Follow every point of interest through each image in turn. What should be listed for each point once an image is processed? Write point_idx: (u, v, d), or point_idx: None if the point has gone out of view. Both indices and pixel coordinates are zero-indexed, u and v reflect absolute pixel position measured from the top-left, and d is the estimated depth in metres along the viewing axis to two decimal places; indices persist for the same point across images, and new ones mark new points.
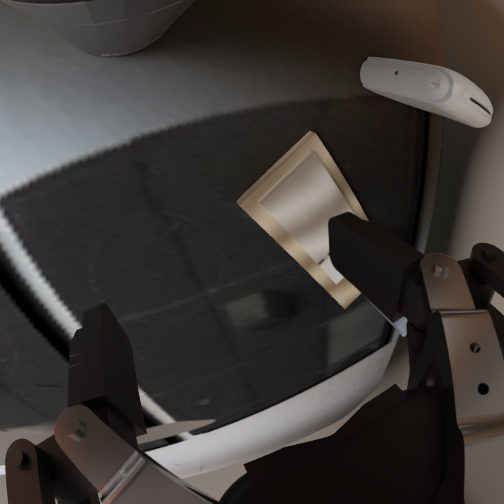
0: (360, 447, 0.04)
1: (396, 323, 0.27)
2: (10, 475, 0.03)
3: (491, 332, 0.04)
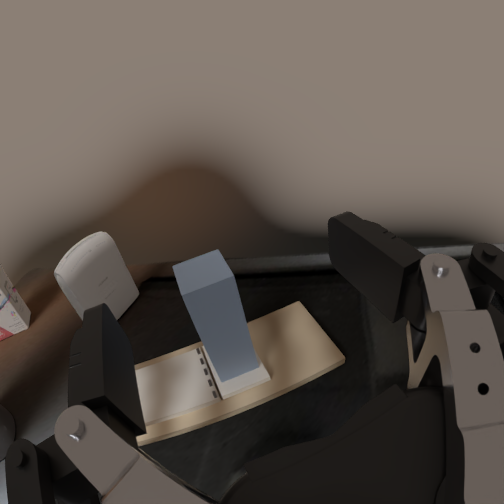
0: (360, 447, 0.04)
1: (182, 297, 0.21)
2: (10, 475, 0.03)
3: (491, 332, 0.04)
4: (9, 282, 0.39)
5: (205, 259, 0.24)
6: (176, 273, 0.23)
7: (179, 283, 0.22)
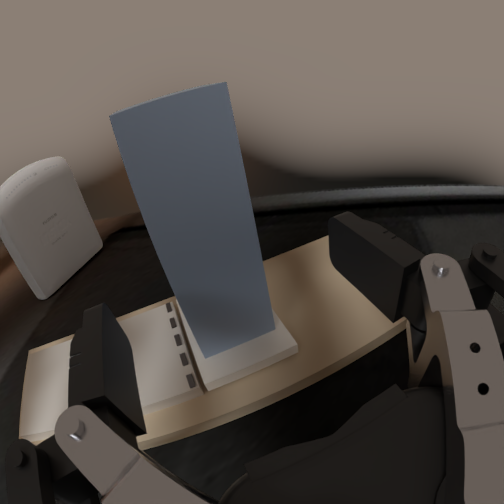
0: (360, 447, 0.04)
1: None
2: (10, 475, 0.03)
3: (491, 332, 0.04)
4: None
5: None
6: (117, 111, 0.10)
7: (115, 112, 0.09)
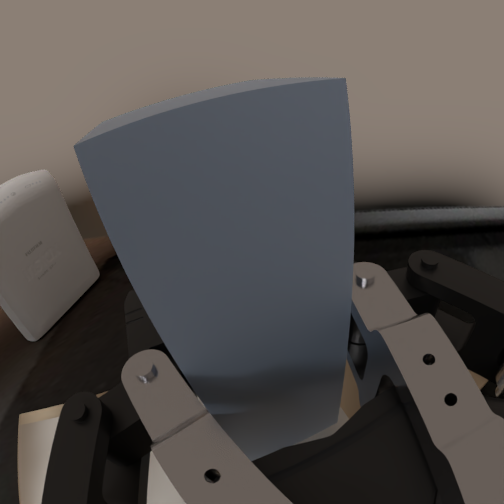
0: (360, 447, 0.04)
1: None
2: (62, 425, 0.05)
3: (441, 337, 0.05)
4: None
5: (211, 89, 0.06)
6: (103, 123, 0.05)
7: (96, 129, 0.04)
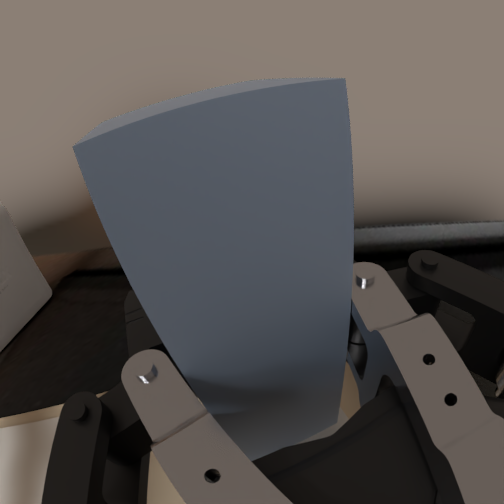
0: (360, 447, 0.04)
1: None
2: (62, 425, 0.05)
3: (441, 337, 0.05)
4: None
5: (210, 89, 0.06)
6: (102, 124, 0.05)
7: (95, 130, 0.04)
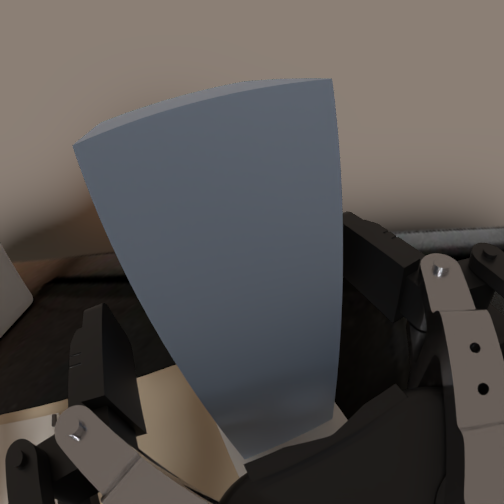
0: (360, 447, 0.04)
1: None
2: (10, 475, 0.03)
3: (491, 332, 0.04)
4: None
5: (205, 90, 0.06)
6: (101, 124, 0.06)
7: (93, 130, 0.04)
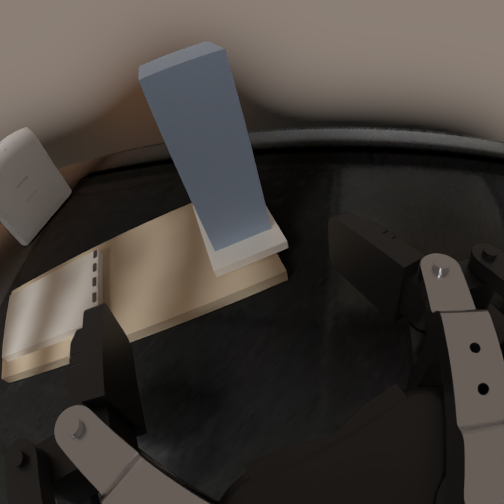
0: (360, 447, 0.04)
1: (140, 84, 0.11)
2: (10, 475, 0.03)
3: (491, 332, 0.04)
4: None
5: (186, 50, 0.13)
6: (141, 68, 0.13)
7: (141, 73, 0.12)
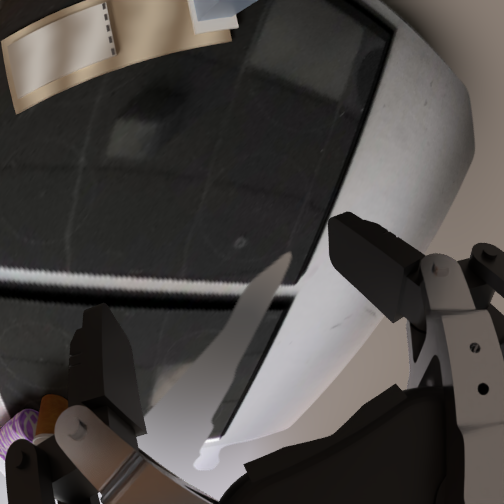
0: (360, 447, 0.04)
1: None
2: (10, 475, 0.03)
3: (491, 332, 0.04)
4: None
5: None
6: None
7: None
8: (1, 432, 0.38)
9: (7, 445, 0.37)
